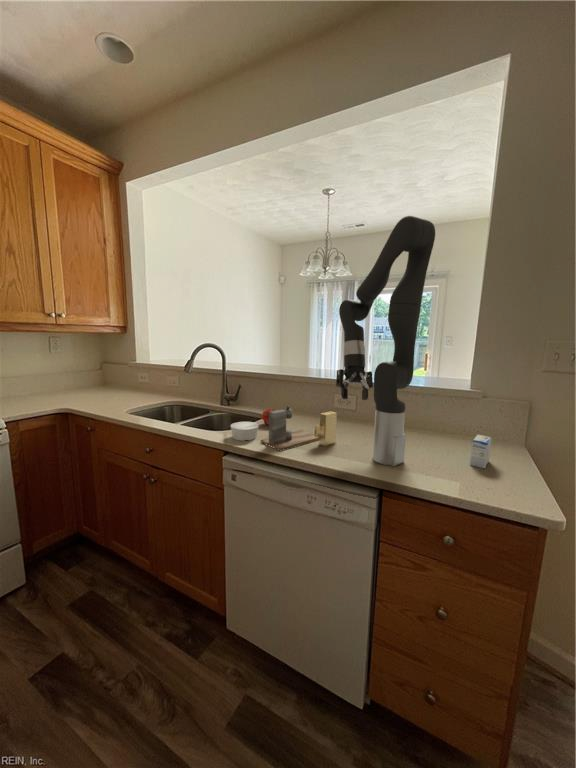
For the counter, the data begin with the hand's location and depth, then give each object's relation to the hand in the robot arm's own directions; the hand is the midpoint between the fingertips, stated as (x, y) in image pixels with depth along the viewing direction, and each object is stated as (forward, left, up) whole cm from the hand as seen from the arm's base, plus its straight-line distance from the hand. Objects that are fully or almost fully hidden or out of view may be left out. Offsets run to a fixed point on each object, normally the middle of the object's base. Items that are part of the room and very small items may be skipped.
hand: (355, 399), depth 113 cm
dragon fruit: (+44, +3, -19) cm, 48 cm away
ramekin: (+37, +23, -19) cm, 47 cm away
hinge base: (+22, +11, -19) cm, 31 cm away
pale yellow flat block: (+11, +4, -19) cm, 22 cm away
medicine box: (-34, -23, -19) cm, 46 cm away
